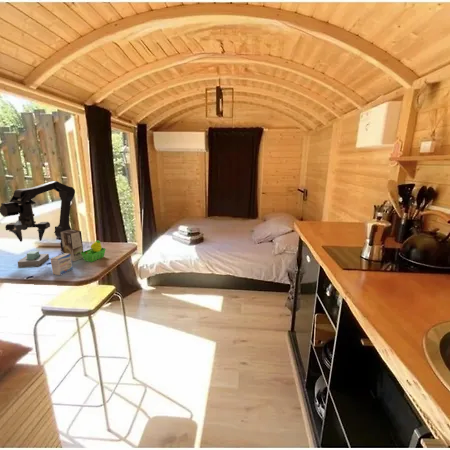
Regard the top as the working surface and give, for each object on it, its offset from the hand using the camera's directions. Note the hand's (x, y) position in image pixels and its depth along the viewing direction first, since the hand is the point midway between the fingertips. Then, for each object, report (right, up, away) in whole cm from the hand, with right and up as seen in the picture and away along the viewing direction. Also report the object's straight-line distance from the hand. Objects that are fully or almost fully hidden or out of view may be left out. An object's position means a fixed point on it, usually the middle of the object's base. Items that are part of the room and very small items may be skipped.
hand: (31, 241), depth 137 cm
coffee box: (+19, -11, +8) cm, 23 cm away
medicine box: (+24, -15, -10) cm, 30 cm away
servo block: (+1, -12, +1) cm, 12 cm away
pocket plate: (+1, -11, +1) cm, 12 cm away
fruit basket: (+31, -11, +8) cm, 34 cm away
